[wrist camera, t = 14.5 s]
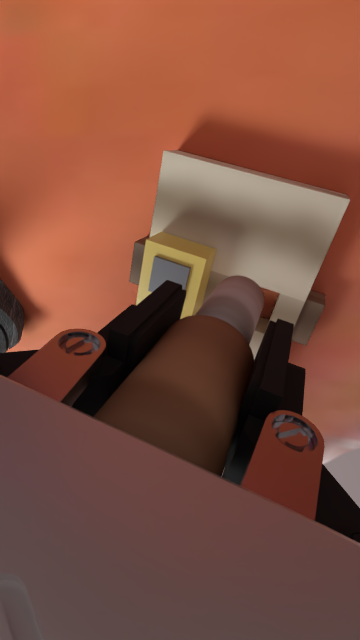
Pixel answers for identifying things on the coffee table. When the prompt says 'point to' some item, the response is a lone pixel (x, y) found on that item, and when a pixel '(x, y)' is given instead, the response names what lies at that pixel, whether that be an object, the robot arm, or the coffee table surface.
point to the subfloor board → (250, 231)
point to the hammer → (9, 319)
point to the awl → (193, 379)
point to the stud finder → (176, 268)
